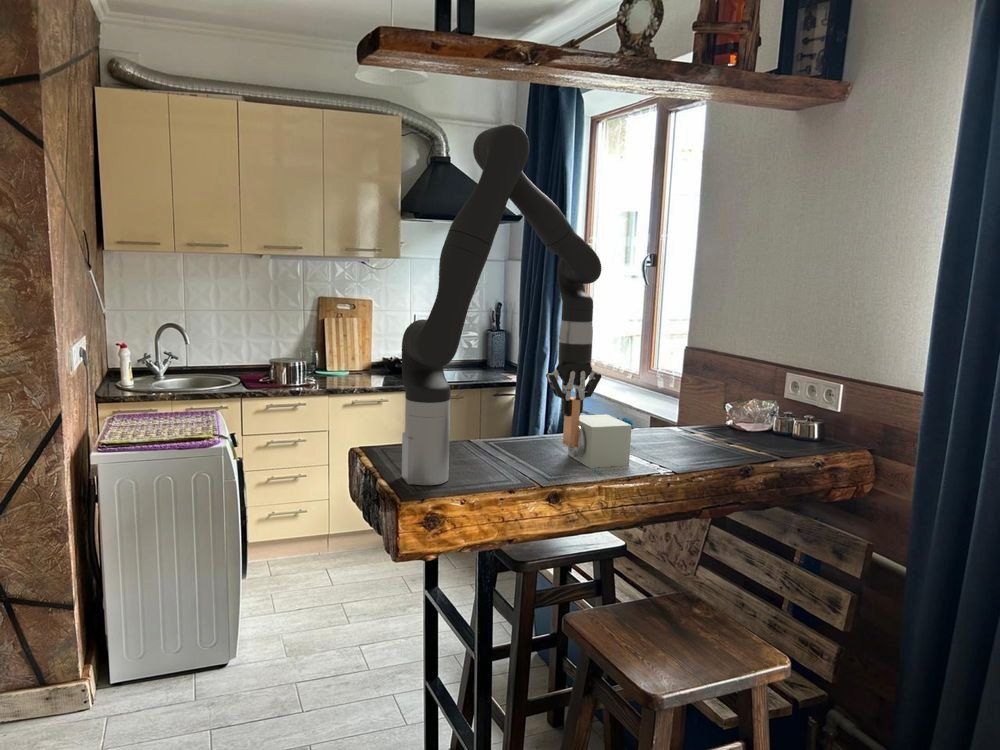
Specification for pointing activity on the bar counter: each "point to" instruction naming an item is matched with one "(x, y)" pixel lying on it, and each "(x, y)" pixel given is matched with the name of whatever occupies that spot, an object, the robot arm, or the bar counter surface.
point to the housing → (605, 441)
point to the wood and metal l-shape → (574, 430)
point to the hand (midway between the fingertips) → (571, 415)
